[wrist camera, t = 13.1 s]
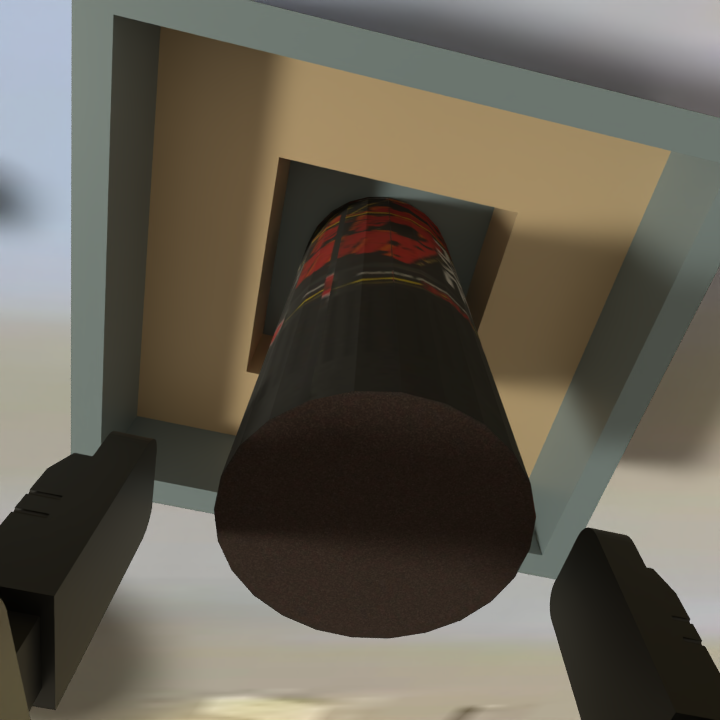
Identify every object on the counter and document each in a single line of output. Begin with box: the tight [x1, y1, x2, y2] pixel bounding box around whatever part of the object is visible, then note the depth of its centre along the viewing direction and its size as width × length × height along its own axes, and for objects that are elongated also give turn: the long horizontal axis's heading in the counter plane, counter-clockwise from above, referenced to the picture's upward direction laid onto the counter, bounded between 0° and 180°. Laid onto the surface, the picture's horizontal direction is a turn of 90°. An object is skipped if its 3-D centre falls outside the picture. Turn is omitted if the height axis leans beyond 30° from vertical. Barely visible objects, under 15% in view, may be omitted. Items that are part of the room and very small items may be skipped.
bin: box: [71, 0, 720, 579], centre depth 22 cm, size 18×16×8 cm
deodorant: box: [214, 197, 536, 638], centre depth 18 cm, size 6×6×15 cm
